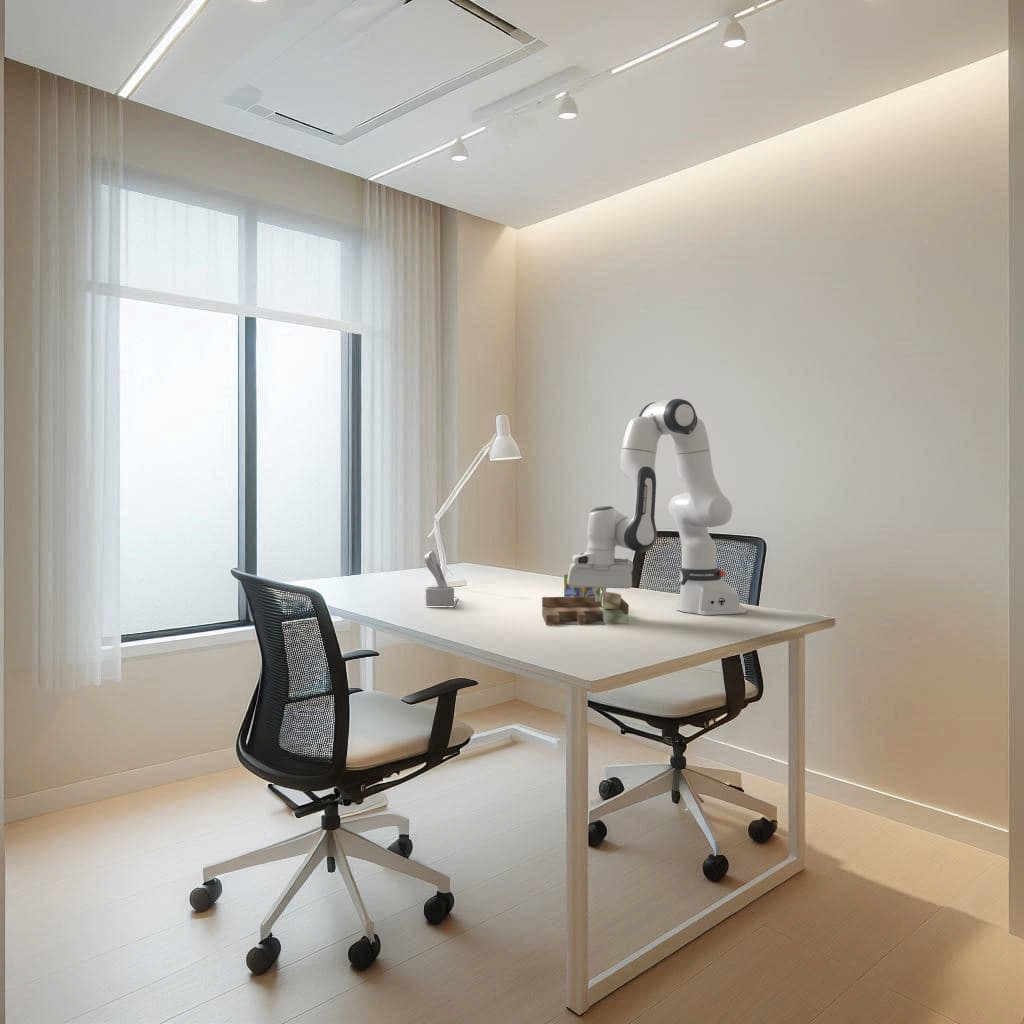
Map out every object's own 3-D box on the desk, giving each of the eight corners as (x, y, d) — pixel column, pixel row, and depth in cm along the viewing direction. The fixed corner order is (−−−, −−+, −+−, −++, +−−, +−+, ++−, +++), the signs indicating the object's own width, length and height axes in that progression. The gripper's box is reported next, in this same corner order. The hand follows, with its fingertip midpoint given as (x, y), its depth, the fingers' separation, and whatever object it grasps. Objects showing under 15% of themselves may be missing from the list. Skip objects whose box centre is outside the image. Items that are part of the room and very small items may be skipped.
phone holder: (453, 607, 262) (453, 555, 261) (424, 607, 262) (423, 555, 261) (458, 598, 280) (458, 549, 278) (430, 598, 280) (430, 549, 279)
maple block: (616, 607, 246) (618, 593, 246) (619, 609, 241) (621, 595, 241) (601, 605, 246) (602, 591, 246) (603, 608, 241) (605, 594, 241)
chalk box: (584, 612, 254) (584, 567, 253) (563, 608, 260) (563, 565, 259) (601, 608, 260) (601, 564, 259) (580, 605, 267) (580, 562, 266)
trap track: (619, 614, 249) (619, 596, 249) (628, 624, 234) (628, 604, 234) (542, 615, 248) (542, 597, 248) (546, 625, 233) (546, 605, 233)
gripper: (631, 557, 246) (629, 600, 247) (567, 556, 246) (565, 599, 246) (635, 560, 240) (633, 604, 241) (569, 558, 239) (568, 602, 240)
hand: (598, 601), depth 244 cm, fingers closed
